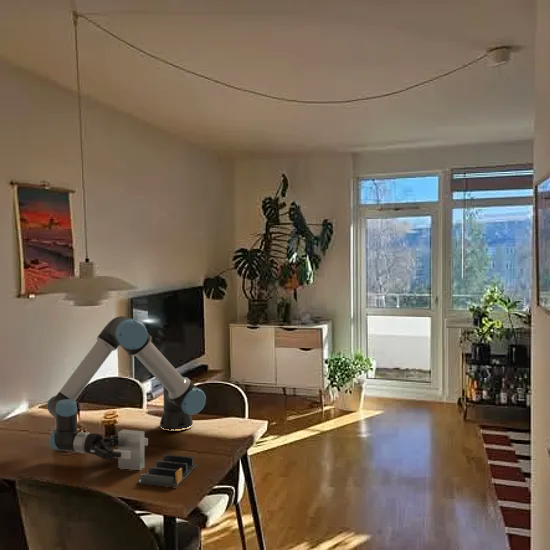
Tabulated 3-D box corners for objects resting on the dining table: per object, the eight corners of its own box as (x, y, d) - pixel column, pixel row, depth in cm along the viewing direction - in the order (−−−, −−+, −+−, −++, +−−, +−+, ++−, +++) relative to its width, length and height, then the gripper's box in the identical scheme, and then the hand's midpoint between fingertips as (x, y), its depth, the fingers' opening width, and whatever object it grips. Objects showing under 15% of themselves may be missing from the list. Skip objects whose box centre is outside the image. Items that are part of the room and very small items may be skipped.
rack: (160, 462, 205) (160, 450, 204) (196, 466, 201) (197, 453, 201) (137, 483, 186) (137, 469, 186) (176, 488, 183) (176, 474, 182)
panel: (123, 465, 202) (122, 429, 201) (144, 467, 200) (144, 431, 199) (118, 468, 199) (118, 432, 198) (140, 471, 196) (139, 434, 196)
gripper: (106, 441, 215) (154, 446, 210) (69, 465, 191) (122, 471, 186) (106, 423, 215) (154, 427, 210) (69, 445, 191) (121, 450, 186)
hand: (139, 448), depth 198 cm, fingers open, 13 cm apart
